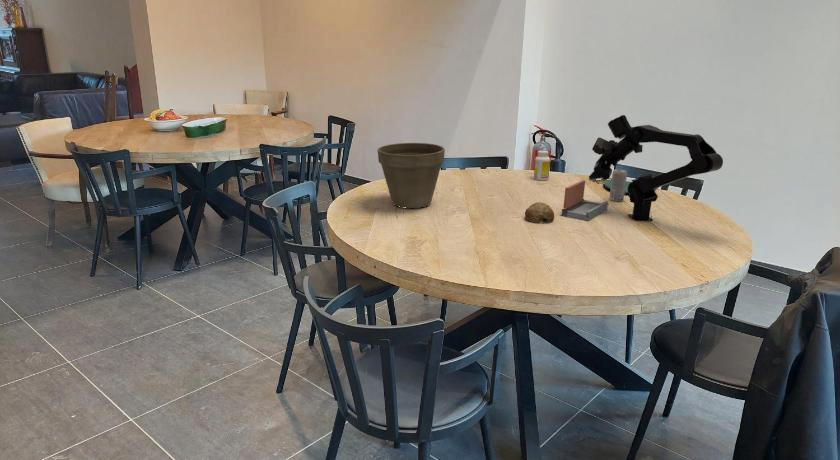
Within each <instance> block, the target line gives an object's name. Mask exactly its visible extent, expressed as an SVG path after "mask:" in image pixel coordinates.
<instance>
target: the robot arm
mask: <svg viewBox="0 0 840 460" xmlns="http://www.w3.org/2000/svg"><path fill="white" fill-rule="evenodd" d="M607 127H608V128H609V130H610V131H611V133H612V135H613V137H614V139H618V140H619V141H615V140H614V139H611V140H607V139H604V138H602V137H597V138H596V141H595V143H594V144H593V147H592V149H591V150H592V151H593V152H594V154H597V155H599V156H600V157H599V158H598V159H597V160H596V162H595V165H594V167H593V171H592V172H591V173H590V174H589V175H588V179H589V178H590V179H604V180H607V179H608V178H611V177H612V174H613V169H612V166H613V167H614V168H615V167H616V166H617V165H618V163H619V162H620V161H624V160H625V159H626V157H627V156H628V155H630V154H631V153H633V152H634V153H635V154H638V153H643V147H644V146H643V143H661V144H668V145H674V146H678V147H679V146H681V147H686V148H687V150H688V152H689V158H690V159H691V161H689V162H688V163H687V164H685V165H683V166H680V167H677V168H675V169H673V170H670V171H667V172H664V173H662V174H659V175H657V176H654V177H653V175H652V174H648V175H643V176H642V175H641V176H639V177H638V178H636V179H631V181H630V182H631V183H629V185H628V193H627V194H628V196H629V202H630V203H633V209H632V213H629V214H628V217H630V218H631V219H632V220H634V221H638V222H640V221H642V222H643V221H648V222H649V221H654V219H653V218H652V217H651V216H650V215H651V210H652V209H651V208H652V202H656V201H657V200H658V198H659V196H658V194H657V192H656V191H657V190H658V189H659V188H660V187H661V188H662V187H663V186H667V185H669V184H672V183H674V182H677V181H680V180H683V179H686V178H688V177H691V176H695V175H702V174H707V173H711V172H712V173H713V172H716V171H718V170H720V169H722V167H723V165H724V161H723V160H724V158H723V157H722V155H721V154H720V153H717V151H716V150H715V148H713V146H712V145H710V144H709V143H708V142H707V141H706V140H705V139H704V137H703V136H702V135H700V134H697V133H696V134H691V133H684V132H676V131H668V130H663V129H661V128H658V127H657V126H653V125H652V124H643V125H636V126H631V124H630V122H629V121H628V118H627V116H626V114H622V115H620V116H618V117H615V118H614V119H610V121H609V122H608V123H607Z"/></svg>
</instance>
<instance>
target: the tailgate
mask: <svg viewBox="0 0 840 460" xmlns="http://www.w3.org/2000/svg"><path fill="white" fill-rule="evenodd" d="M585 187H586V180H584V179H583V180H579V181H577V182H575V183H572V184H571V185H568V186H566V187H565V188H564V189H565V190H564V198H563V199H564V201H563V206H562V209H564V208H565V209H566V208H568V207H570V206H572V205H574V204H576V203H578V202H580V201H582V200H583V199H585V198H584V197H585Z"/></svg>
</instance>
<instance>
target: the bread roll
mask: <svg viewBox="0 0 840 460" xmlns="http://www.w3.org/2000/svg"><path fill="white" fill-rule="evenodd" d="M524 218H525V219H526V220H527V221H528V220H529V221H528V222H530V221H531V223H534V222H535V224H539V223H542V224H548V223H553V221H554V219H555V212H554V210H553V209H552V207H551V206H550V205H549V204H547V203H544V202H540V201H539V202H534V203H532V204H531V205H530V206H528V207H527V208H525V211H524Z"/></svg>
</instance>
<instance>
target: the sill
mask: <svg viewBox="0 0 840 460" xmlns="http://www.w3.org/2000/svg"><path fill="white" fill-rule="evenodd" d="M586 201H587V200H586V199H585V198H583V200H582V201H580V202H578V203H576V204H574V205H572V206H570V207H568V208H562V209H561V216H562V217H567V211H573V210H575V209H577V208H578V207H580V206H582V205H584V204H586ZM567 218H568V217H567Z"/></svg>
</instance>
